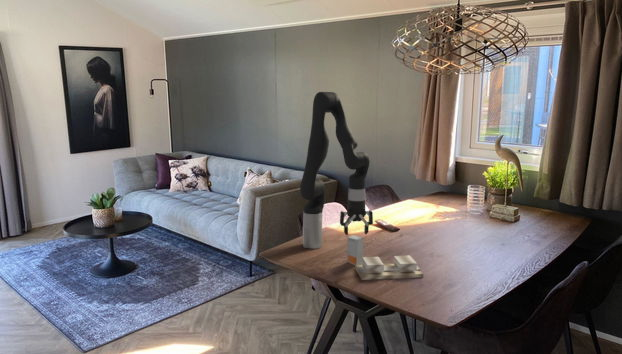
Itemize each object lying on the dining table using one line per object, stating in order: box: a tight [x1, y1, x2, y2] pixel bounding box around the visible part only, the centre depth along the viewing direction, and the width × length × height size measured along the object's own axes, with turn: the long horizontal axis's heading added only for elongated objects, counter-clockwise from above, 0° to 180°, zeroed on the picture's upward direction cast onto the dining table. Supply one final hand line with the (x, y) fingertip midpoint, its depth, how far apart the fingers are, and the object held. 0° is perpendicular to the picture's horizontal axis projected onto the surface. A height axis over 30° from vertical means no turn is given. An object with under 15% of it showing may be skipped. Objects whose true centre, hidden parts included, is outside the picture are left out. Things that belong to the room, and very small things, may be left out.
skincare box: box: [346, 234, 364, 266], centre depth 207 cm, size 6×4×12 cm
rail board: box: [355, 255, 424, 281], centre depth 197 cm, size 26×12×6 cm, turn 97°
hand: (356, 234), depth 205 cm, fingers open, 8 cm apart
